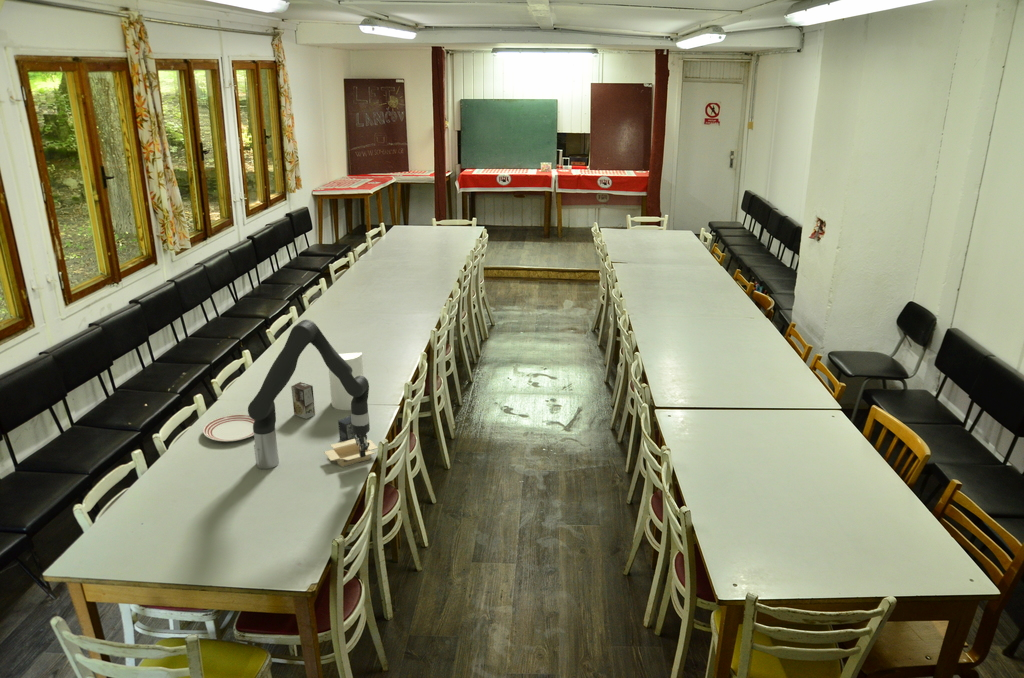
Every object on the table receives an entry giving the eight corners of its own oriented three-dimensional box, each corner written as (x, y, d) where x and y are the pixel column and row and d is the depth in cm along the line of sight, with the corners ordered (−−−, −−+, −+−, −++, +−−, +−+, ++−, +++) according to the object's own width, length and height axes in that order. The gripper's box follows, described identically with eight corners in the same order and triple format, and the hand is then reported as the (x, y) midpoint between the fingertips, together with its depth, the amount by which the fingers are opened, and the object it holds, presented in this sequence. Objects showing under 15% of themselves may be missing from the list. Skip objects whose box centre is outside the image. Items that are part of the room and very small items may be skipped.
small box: (356, 431, 370) (355, 412, 366) (365, 436, 366) (363, 416, 363) (338, 439, 363) (337, 420, 359) (347, 444, 359) (346, 424, 355)
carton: (332, 469, 337) (331, 461, 336) (321, 455, 348) (320, 447, 347) (378, 456, 348) (378, 448, 347) (367, 443, 360) (366, 435, 358)
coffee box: (315, 414, 386) (313, 385, 380) (306, 419, 381) (303, 390, 375) (303, 409, 391) (300, 381, 385) (293, 414, 386) (290, 385, 380)
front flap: (341, 459, 338) (348, 460, 330) (341, 458, 338) (347, 459, 330) (369, 451, 344) (376, 453, 336) (369, 451, 344) (375, 452, 336)
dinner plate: (263, 416, 384) (262, 410, 383) (264, 441, 360) (263, 435, 359) (205, 423, 376) (204, 417, 375) (202, 450, 352) (201, 443, 351)
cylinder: (365, 408, 393) (362, 358, 383) (331, 411, 390) (327, 361, 380) (364, 394, 409) (361, 346, 399) (331, 396, 406) (327, 348, 395)
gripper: (346, 417, 330) (349, 452, 336) (357, 429, 319) (360, 465, 326) (362, 413, 333) (365, 447, 340) (374, 425, 323) (376, 460, 329)
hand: (362, 456), depth 333 cm, fingers closed
